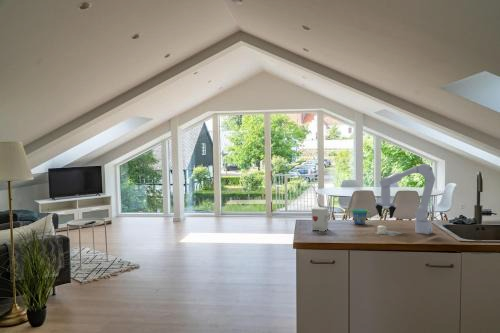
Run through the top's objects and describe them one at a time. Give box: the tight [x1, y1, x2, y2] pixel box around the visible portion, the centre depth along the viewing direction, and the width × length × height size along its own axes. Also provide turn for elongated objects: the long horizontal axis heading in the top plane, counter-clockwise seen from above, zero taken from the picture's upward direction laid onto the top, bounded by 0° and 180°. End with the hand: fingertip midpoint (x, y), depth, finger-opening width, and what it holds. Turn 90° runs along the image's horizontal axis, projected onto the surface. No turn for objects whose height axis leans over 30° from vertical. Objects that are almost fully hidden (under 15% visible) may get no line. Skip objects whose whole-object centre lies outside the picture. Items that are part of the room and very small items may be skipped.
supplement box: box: [311, 206, 329, 232], centre depth 287 cm, size 9×9×15 cm
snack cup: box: [348, 208, 372, 225], centre depth 309 cm, size 16×10×10 cm
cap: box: [377, 225, 387, 235], centre depth 266 cm, size 5×5×4 cm
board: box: [375, 229, 403, 237], centre depth 266 cm, size 13×13×4 cm
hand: (385, 217), depth 277 cm, fingers open, 7 cm apart
